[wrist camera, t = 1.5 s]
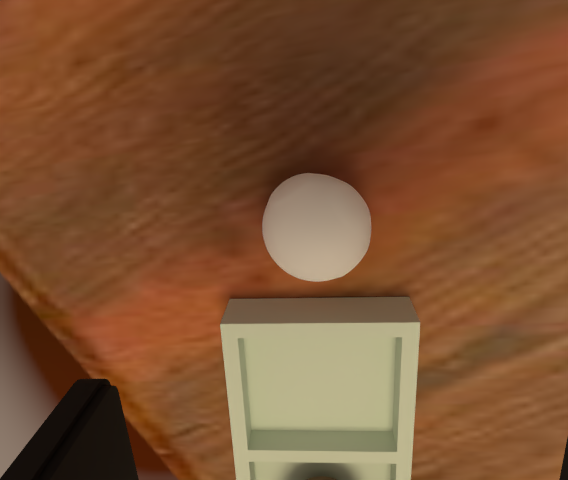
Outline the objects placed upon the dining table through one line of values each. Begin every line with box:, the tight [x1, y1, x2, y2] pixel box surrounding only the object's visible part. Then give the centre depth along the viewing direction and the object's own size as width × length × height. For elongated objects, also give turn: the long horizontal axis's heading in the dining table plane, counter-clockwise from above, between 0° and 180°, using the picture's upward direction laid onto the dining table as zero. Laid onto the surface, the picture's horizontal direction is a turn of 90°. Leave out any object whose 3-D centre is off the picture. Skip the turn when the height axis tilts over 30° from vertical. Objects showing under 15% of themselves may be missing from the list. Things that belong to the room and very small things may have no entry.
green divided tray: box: [220, 297, 420, 480], centre depth 26 cm, size 16×10×3 cm, turn 3°
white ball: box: [262, 173, 371, 282], centre depth 21 cm, size 5×5×5 cm
